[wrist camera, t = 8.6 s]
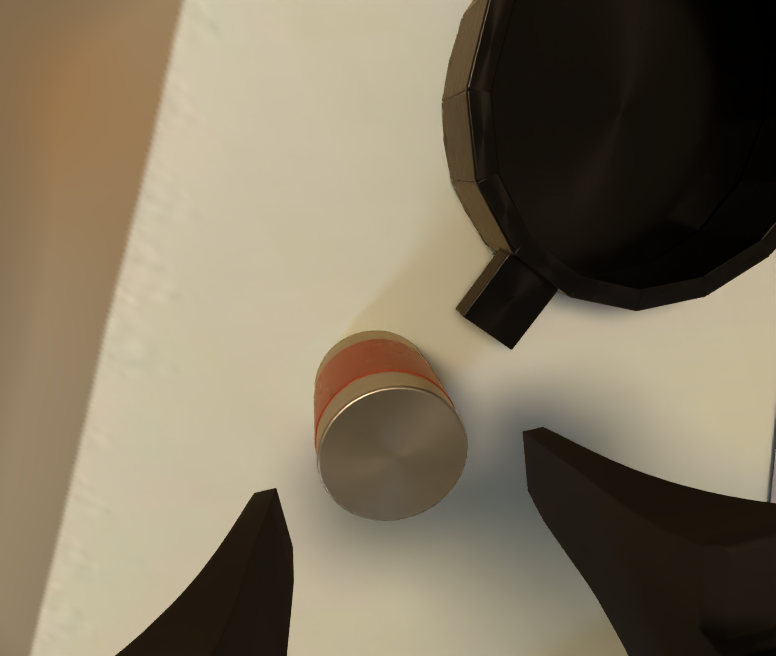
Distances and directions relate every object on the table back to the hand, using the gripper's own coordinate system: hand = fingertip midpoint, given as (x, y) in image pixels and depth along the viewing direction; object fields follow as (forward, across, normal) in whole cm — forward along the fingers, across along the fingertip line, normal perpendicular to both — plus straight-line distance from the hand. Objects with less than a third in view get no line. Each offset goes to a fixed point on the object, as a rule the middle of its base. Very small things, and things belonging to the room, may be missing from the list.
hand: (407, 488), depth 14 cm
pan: (+7, -11, -9) cm, 16 cm away
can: (+7, 0, 0) cm, 7 cm away
